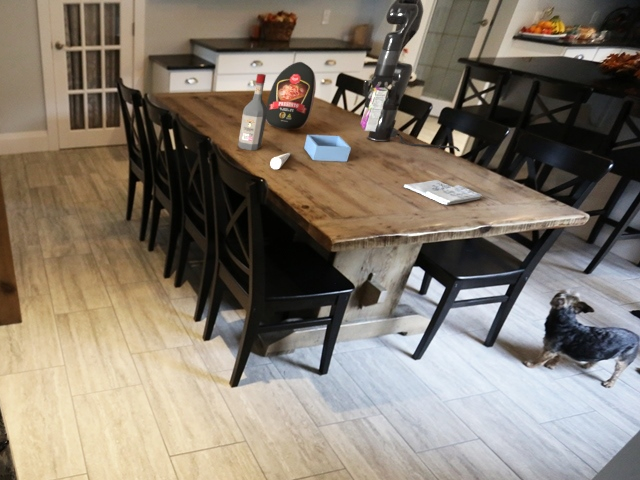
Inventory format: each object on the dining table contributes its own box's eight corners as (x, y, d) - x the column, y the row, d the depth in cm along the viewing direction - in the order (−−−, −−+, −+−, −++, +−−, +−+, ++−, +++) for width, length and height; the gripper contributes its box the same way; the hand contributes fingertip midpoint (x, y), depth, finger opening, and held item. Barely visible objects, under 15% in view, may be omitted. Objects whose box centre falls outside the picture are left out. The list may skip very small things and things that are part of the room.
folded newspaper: (446, 206, 177) (448, 201, 176) (401, 187, 191) (403, 181, 190) (482, 199, 183) (485, 194, 182) (436, 181, 198) (438, 175, 196)
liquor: (255, 151, 223) (268, 77, 205) (236, 147, 227) (247, 75, 208) (262, 146, 229) (275, 74, 211) (243, 143, 233) (255, 71, 215)
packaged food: (260, 130, 251) (272, 63, 232) (266, 121, 265) (278, 58, 247) (304, 136, 245) (320, 68, 226) (308, 126, 259) (323, 61, 241)
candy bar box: (359, 124, 220) (371, 83, 210) (371, 125, 220) (383, 84, 209) (363, 131, 212) (376, 89, 202) (375, 132, 211) (389, 90, 201)
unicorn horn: (297, 156, 219) (300, 145, 216) (279, 171, 203) (282, 159, 200) (287, 154, 221) (289, 143, 218) (268, 168, 205) (271, 157, 202)
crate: (335, 149, 229) (339, 135, 225) (346, 161, 215) (351, 147, 211) (304, 148, 229) (307, 134, 225) (313, 160, 215) (316, 146, 212)
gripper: (401, 61, 203) (387, 106, 213) (366, 60, 203) (353, 104, 214) (408, 64, 197) (393, 110, 207) (372, 63, 197) (359, 109, 208)
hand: (373, 107), depth 210 cm, fingers closed on candy bar box, 5 cm apart
